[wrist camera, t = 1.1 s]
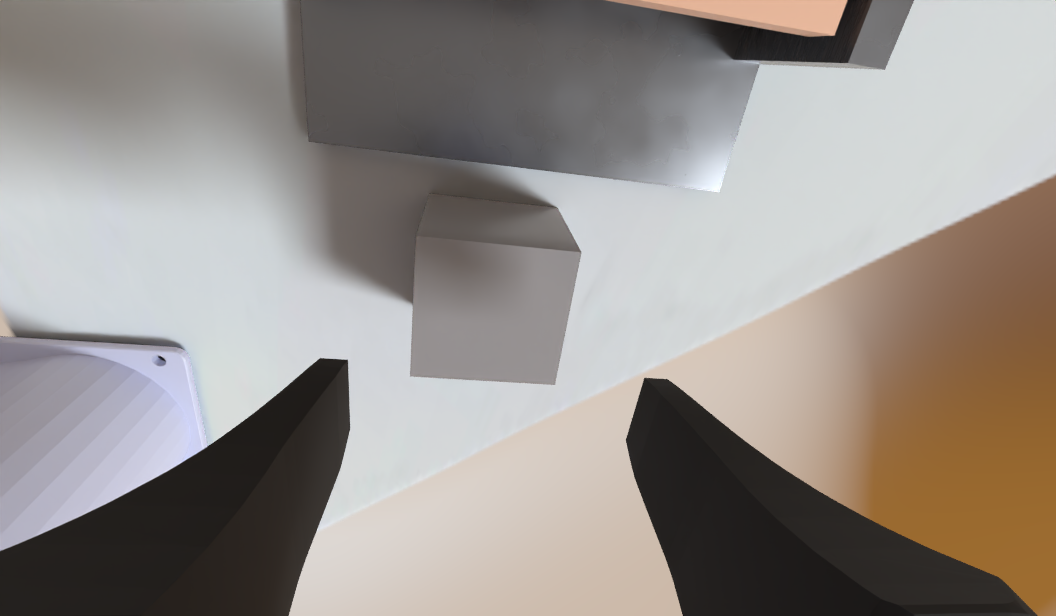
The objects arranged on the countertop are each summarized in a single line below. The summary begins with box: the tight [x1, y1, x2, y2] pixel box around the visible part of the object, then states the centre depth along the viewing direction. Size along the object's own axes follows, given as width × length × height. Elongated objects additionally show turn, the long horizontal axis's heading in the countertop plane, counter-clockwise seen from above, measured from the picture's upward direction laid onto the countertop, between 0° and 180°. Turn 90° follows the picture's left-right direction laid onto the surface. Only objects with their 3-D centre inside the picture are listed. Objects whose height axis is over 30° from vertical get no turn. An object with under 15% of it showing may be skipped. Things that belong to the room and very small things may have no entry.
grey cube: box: [410, 193, 581, 385], centre depth 18 cm, size 5×5×5 cm
